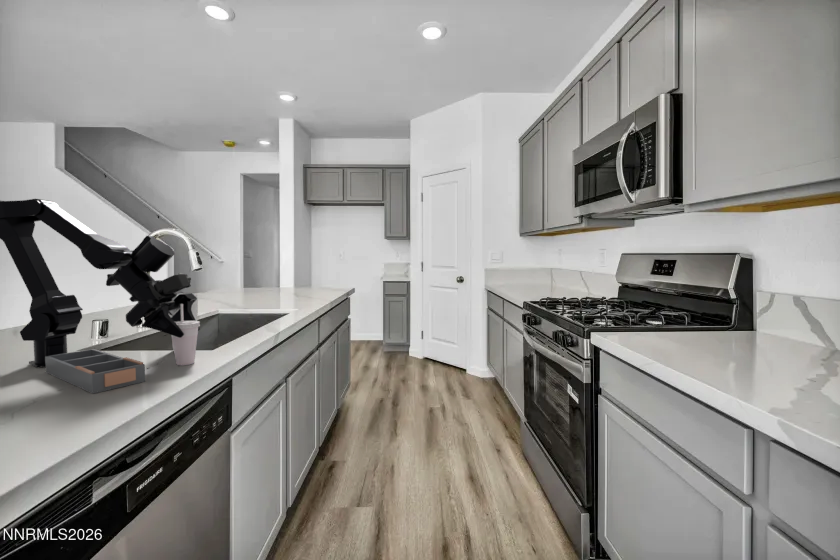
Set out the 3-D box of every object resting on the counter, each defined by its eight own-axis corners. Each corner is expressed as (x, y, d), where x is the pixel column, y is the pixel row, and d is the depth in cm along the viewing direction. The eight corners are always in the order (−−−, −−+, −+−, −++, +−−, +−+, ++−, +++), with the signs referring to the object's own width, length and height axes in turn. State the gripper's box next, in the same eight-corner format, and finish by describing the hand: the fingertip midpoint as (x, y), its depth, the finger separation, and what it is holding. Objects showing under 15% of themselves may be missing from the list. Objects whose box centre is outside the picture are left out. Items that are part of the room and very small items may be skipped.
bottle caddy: (45, 372, 86) (45, 355, 86) (94, 363, 93) (93, 347, 93) (93, 393, 73) (93, 373, 72) (146, 381, 80) (145, 363, 80)
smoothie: (183, 359, 98) (181, 302, 97) (207, 360, 97) (205, 302, 96) (162, 366, 91) (160, 305, 90) (188, 367, 90) (186, 306, 90)
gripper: (138, 262, 83) (192, 315, 84) (188, 261, 102) (232, 304, 103) (101, 299, 84) (156, 351, 84) (158, 292, 102) (202, 334, 103)
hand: (190, 333), depth 94 cm, fingers closed on smoothie, 6 cm apart
